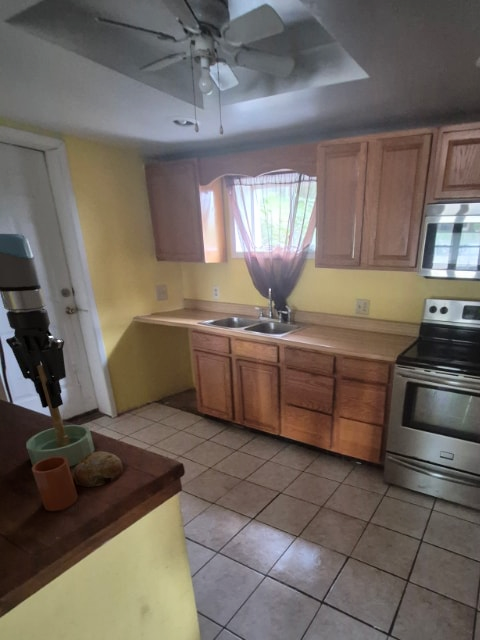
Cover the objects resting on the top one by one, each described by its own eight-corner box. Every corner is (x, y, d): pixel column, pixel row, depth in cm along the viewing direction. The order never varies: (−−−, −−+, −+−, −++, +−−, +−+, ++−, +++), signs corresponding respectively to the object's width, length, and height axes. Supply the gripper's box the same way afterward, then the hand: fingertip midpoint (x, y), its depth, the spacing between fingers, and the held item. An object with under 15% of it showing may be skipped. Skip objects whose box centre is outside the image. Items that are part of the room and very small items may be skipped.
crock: (38, 512, 76) (23, 471, 72) (60, 493, 81) (48, 454, 77) (64, 515, 75) (51, 474, 71) (84, 496, 80) (74, 457, 77)
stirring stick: (56, 448, 95) (33, 366, 87) (62, 444, 97) (39, 364, 89) (66, 449, 95) (44, 367, 86) (72, 445, 97) (50, 364, 88)
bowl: (19, 469, 90) (11, 448, 88) (61, 442, 102) (55, 423, 100) (69, 475, 88) (63, 453, 86) (105, 446, 100) (101, 426, 98)
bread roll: (85, 505, 83) (83, 484, 78) (66, 472, 87) (63, 451, 82) (128, 485, 90) (130, 465, 85) (109, 456, 94) (109, 435, 89)
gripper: (68, 307, 85) (90, 402, 94) (11, 305, 87) (38, 397, 96) (42, 313, 78) (69, 414, 87) (-19, 310, 80) (13, 409, 89)
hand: (52, 405), depth 92 cm, fingers closed on stirring stick, 2 cm apart
